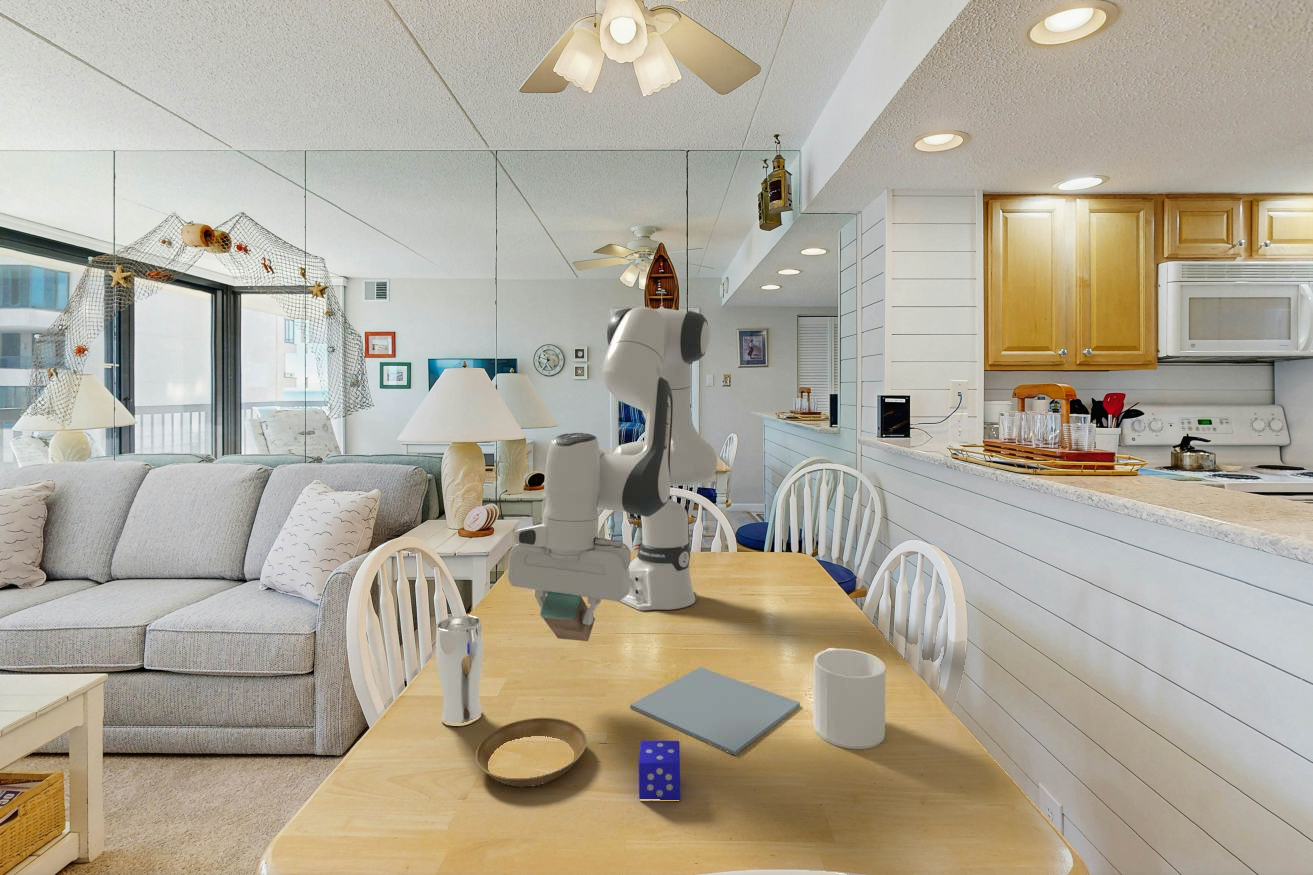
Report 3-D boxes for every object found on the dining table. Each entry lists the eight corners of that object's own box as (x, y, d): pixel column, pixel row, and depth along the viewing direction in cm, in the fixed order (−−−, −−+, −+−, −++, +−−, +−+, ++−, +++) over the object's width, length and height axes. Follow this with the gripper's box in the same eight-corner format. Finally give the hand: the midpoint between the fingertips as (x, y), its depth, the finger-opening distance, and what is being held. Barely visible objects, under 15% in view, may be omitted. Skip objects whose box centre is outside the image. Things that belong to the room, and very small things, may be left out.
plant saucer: (484, 811, 74) (483, 790, 74) (469, 748, 87) (468, 730, 87) (601, 779, 80) (601, 760, 80) (570, 725, 93) (570, 708, 93)
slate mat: (630, 708, 98) (630, 704, 98) (700, 670, 111) (700, 666, 111) (734, 755, 84) (734, 751, 84) (799, 705, 98) (799, 702, 98)
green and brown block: (565, 616, 104) (548, 591, 99) (595, 618, 102) (579, 593, 97) (557, 638, 102) (540, 613, 96) (588, 641, 100) (571, 616, 94)
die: (641, 777, 80) (640, 739, 80) (679, 777, 80) (679, 740, 79) (639, 802, 75) (638, 762, 75) (680, 802, 75) (679, 762, 74)
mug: (898, 747, 86) (898, 675, 85) (829, 752, 85) (829, 680, 84) (858, 703, 98) (858, 640, 98) (797, 707, 97) (797, 644, 97)
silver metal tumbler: (494, 709, 98) (491, 617, 97) (467, 732, 91) (463, 633, 90) (457, 703, 100) (454, 612, 99) (428, 724, 93) (424, 628, 93)
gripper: (638, 538, 98) (634, 623, 99) (524, 525, 104) (521, 606, 105) (623, 545, 92) (619, 636, 93) (504, 531, 98) (501, 616, 99)
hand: (566, 620), depth 99 cm, fingers closed on green and brown block, 6 cm apart
